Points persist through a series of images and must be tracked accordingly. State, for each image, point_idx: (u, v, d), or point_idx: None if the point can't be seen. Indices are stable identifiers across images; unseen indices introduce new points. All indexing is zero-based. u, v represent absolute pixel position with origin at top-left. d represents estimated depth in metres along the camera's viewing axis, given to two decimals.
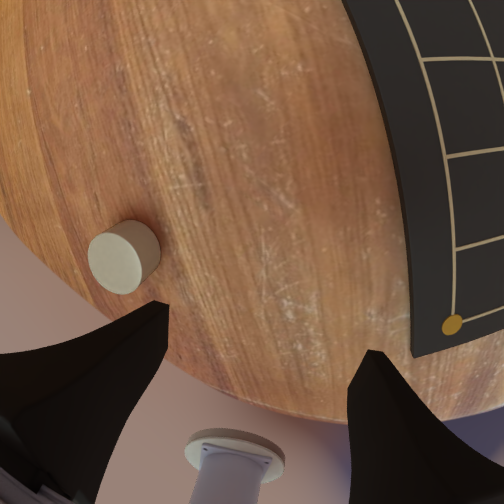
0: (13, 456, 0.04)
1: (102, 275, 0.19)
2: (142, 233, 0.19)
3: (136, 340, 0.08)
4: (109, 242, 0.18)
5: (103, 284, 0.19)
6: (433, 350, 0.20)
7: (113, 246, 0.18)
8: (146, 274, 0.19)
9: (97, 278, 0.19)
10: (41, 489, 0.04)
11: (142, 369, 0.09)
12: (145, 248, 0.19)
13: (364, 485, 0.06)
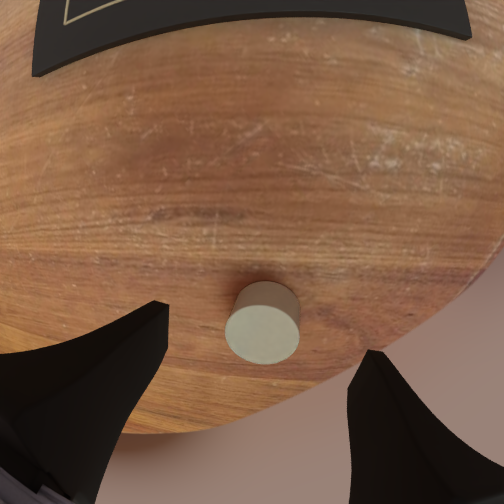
0: (13, 456, 0.04)
1: (270, 354, 0.18)
2: (246, 292, 0.19)
3: (136, 340, 0.08)
4: (236, 329, 0.18)
5: (281, 358, 0.18)
6: (464, 13, 0.10)
7: (241, 327, 0.17)
8: (287, 306, 0.17)
9: (272, 361, 0.18)
10: (41, 489, 0.04)
11: (142, 369, 0.09)
12: (259, 295, 0.18)
13: (364, 485, 0.06)
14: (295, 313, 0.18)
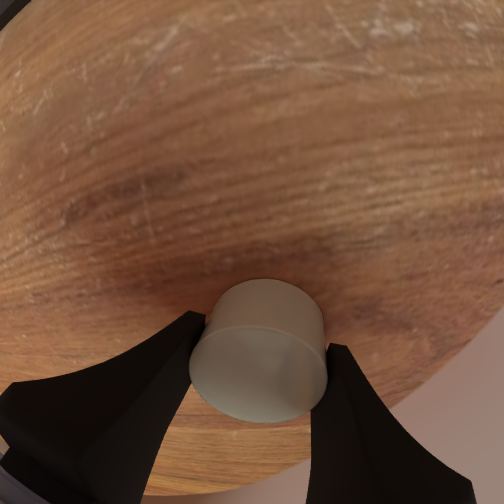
0: (60, 488, 0.04)
1: (281, 407, 0.09)
2: (217, 307, 0.10)
3: (179, 354, 0.08)
4: (207, 376, 0.09)
5: (302, 410, 0.09)
6: None
7: (215, 371, 0.09)
8: (291, 318, 0.09)
9: (288, 417, 0.09)
10: None
11: (181, 382, 0.09)
12: (234, 309, 0.09)
13: (318, 483, 0.06)
14: (311, 328, 0.09)
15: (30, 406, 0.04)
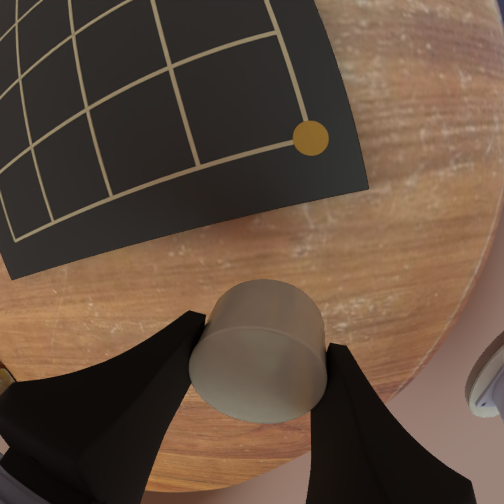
0: (59, 488, 0.04)
1: (281, 408, 0.09)
2: (217, 307, 0.10)
3: (179, 354, 0.08)
4: (207, 377, 0.09)
5: (302, 410, 0.09)
6: (357, 158, 0.14)
7: (214, 372, 0.09)
8: (291, 319, 0.09)
9: (288, 417, 0.09)
10: None
11: (181, 382, 0.09)
12: (234, 309, 0.09)
13: (318, 483, 0.06)
14: (311, 328, 0.09)
15: (30, 406, 0.04)
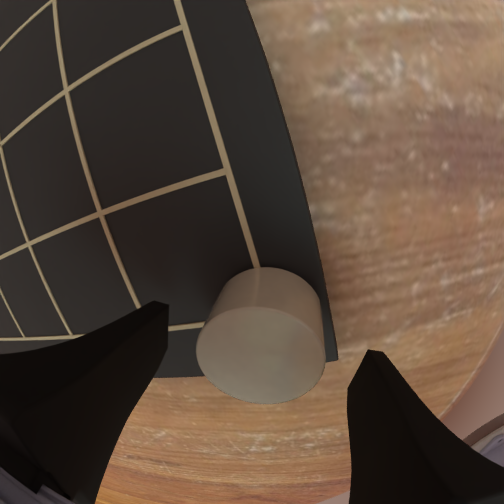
0: (13, 456, 0.04)
1: (282, 387, 0.10)
2: (223, 292, 0.11)
3: (136, 340, 0.08)
4: (213, 357, 0.10)
5: (302, 390, 0.10)
6: (326, 333, 0.13)
7: (220, 352, 0.10)
8: (291, 301, 0.10)
9: (289, 397, 0.10)
10: (41, 489, 0.04)
11: (142, 369, 0.09)
12: (239, 293, 0.10)
13: (364, 485, 0.06)
14: (309, 311, 0.10)
15: None
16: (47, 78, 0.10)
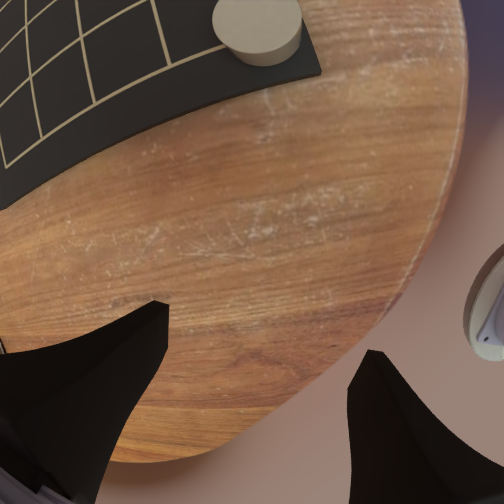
0: (13, 456, 0.04)
1: (274, 33, 0.12)
2: None
3: (136, 340, 0.08)
4: (224, 16, 0.12)
5: (288, 34, 0.12)
6: (308, 47, 0.14)
7: (229, 12, 0.11)
8: None
9: (280, 42, 0.12)
10: (41, 489, 0.04)
11: (142, 369, 0.09)
12: None
13: (364, 485, 0.06)
14: None
15: None
16: None
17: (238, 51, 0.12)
